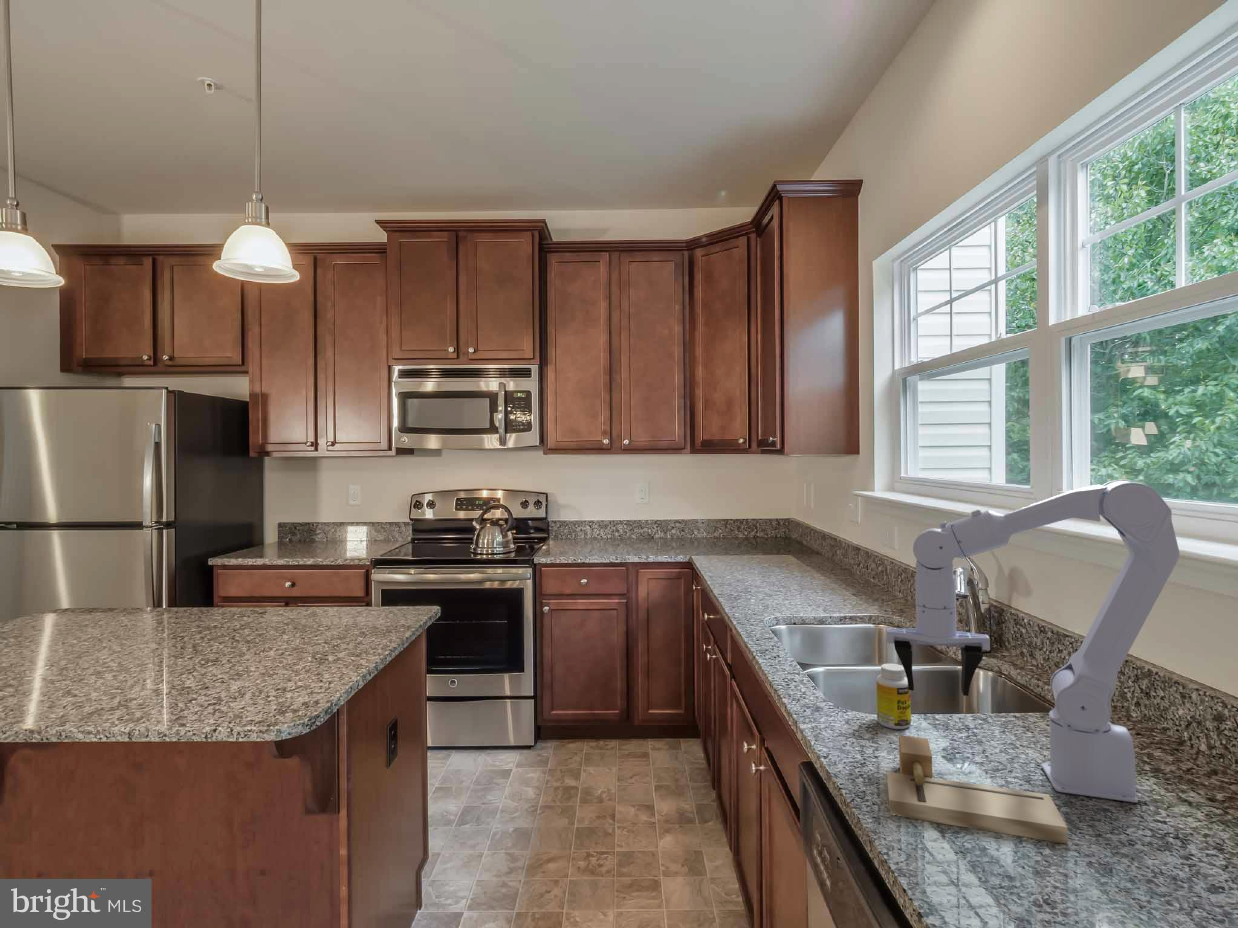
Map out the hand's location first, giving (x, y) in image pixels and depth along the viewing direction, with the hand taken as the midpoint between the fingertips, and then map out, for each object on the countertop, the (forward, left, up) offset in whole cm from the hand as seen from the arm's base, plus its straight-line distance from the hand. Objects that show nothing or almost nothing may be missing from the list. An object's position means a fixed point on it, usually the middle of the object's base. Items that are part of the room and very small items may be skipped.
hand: (937, 690), depth 100 cm
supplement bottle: (+6, -11, -11) cm, 16 cm away
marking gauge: (+4, +11, -10) cm, 16 cm away
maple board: (-2, +16, -10) cm, 19 cm away
